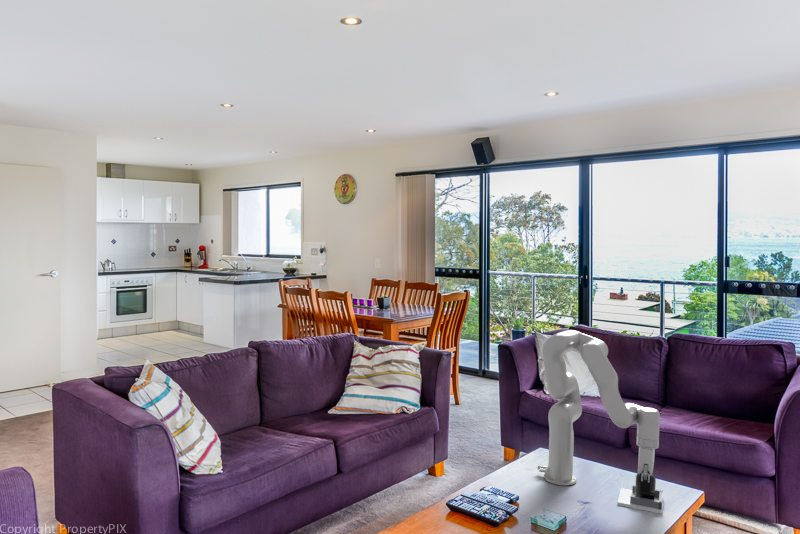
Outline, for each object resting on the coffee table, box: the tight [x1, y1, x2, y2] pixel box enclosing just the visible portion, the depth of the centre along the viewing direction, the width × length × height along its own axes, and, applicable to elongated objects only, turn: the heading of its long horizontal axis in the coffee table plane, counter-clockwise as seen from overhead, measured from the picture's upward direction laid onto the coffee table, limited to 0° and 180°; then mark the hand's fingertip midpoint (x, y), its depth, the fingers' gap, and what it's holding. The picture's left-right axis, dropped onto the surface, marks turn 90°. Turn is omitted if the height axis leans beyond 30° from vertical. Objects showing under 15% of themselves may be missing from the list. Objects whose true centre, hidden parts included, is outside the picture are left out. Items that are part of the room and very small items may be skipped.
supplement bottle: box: [635, 471, 657, 500], centre depth 215 cm, size 7×7×12 cm
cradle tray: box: [617, 484, 664, 515], centre depth 215 cm, size 15×14×4 cm
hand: (645, 487), depth 215 cm, fingers open, 9 cm apart
